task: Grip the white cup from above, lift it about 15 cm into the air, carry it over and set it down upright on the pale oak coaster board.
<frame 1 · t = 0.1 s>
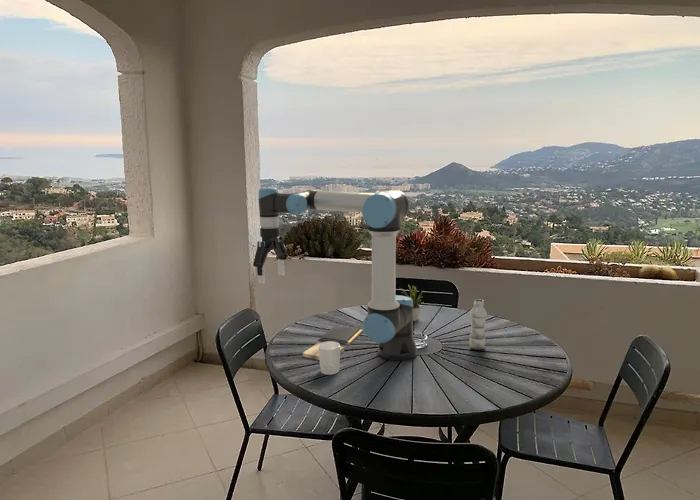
hand: (271, 279, 215), 28 cm above the table, tool pointing down, fingers open, 13 cm apart
house plant: (410, 318, 251), on the table
oak coaster board: (323, 353, 211), on the table
black book: (341, 337, 230), on the table
white cup: (329, 371, 195), on the table
plastic bottle: (477, 348, 214), on the table
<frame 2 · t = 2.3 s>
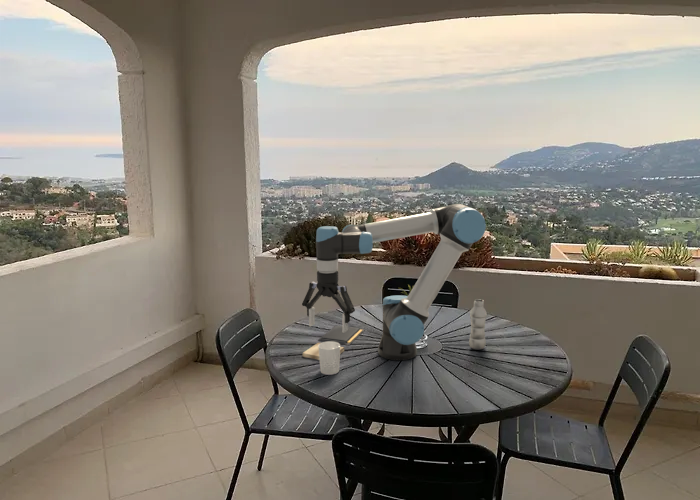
hand: (328, 328, 191), 16 cm above the table, tool pointing down, fingers open, 13 cm apart
nothing on the table moved.
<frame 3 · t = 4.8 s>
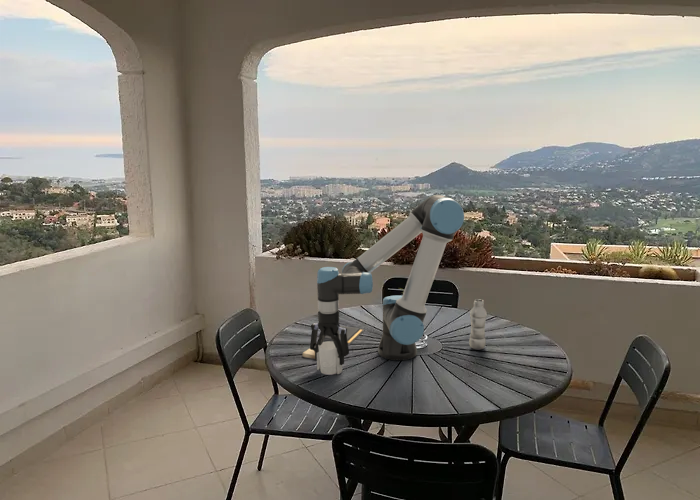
hand: (329, 370, 195), 0 cm above the table, tool pointing down, fingers closed on white cup, 8 cm apart
white cup: (329, 371, 195), on the table, touching gripper
everything else where it was.
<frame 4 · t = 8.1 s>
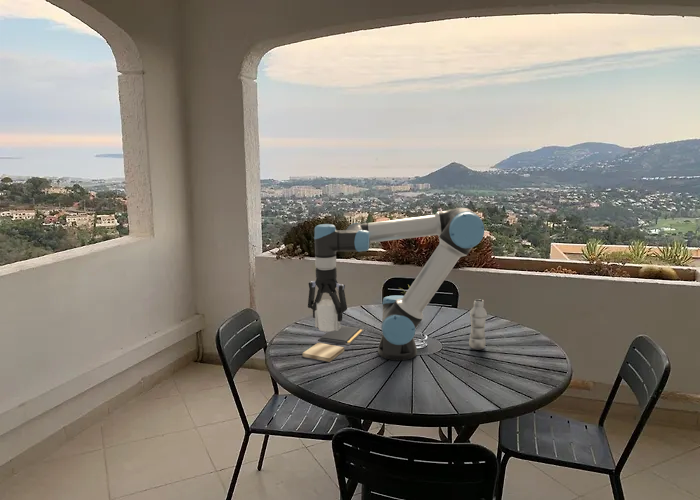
hand: (327, 327, 196), 15 cm above the table, tool pointing down, fingers closed on white cup, 7 cm apart
white cup: (327, 329, 196), point 14 cm above the table, touching gripper
everything else where it was.
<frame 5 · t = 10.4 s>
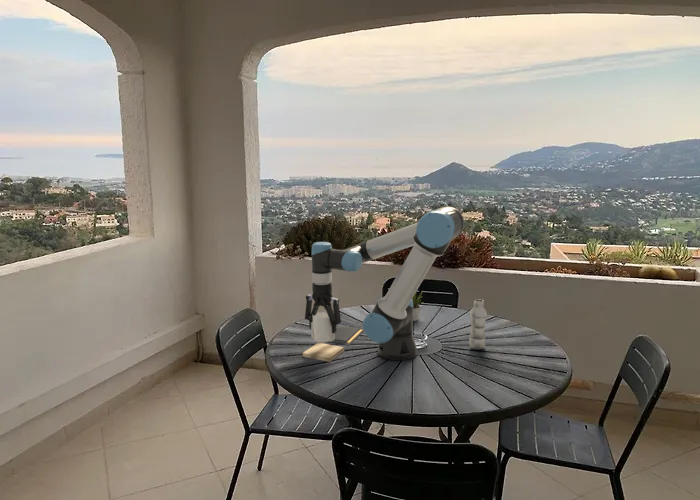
hand: (323, 338, 209), 6 cm above the table, tool pointing down, fingers closed on white cup, 7 cm apart
white cup: (323, 339, 210), point 6 cm above the table, touching gripper
everything else where it was.
when the fingers open (3 cm above the table, at t = 11.9 s): white cup drops 1 cm, resting on oak coaster board.
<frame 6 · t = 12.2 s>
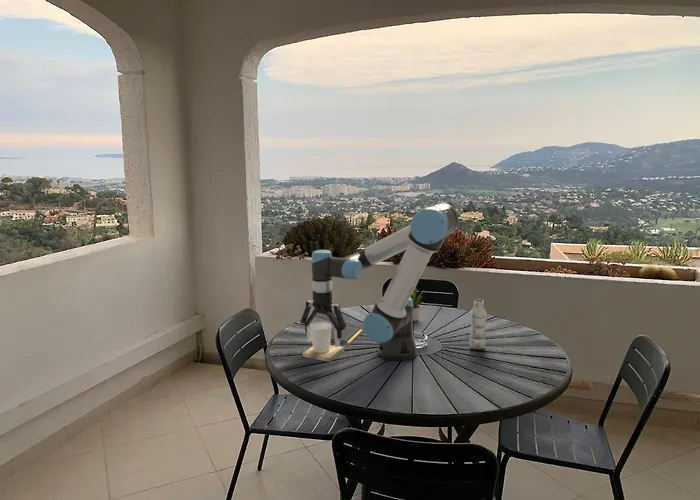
hand: (323, 343, 210), 4 cm above the table, tool pointing down, fingers open, 12 cm apart
white cup: (321, 350, 211), point 1 cm above the table, touching oak coaster board
everything else where it was.
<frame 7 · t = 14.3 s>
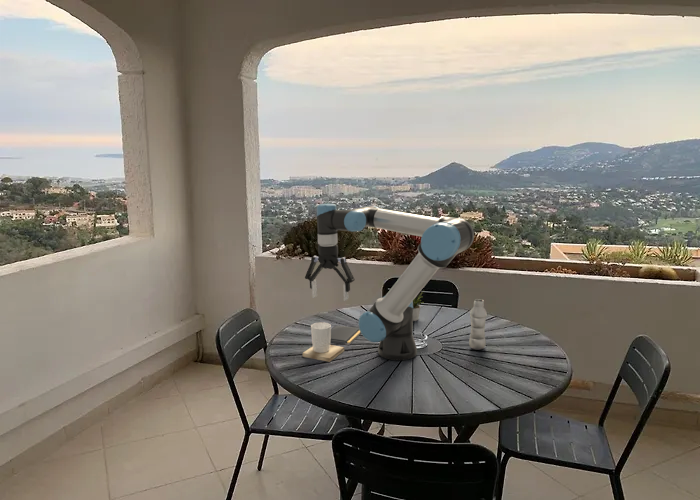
hand: (330, 298, 208), 22 cm above the table, tool pointing down, fingers open, 13 cm apart
nothing on the table moved.
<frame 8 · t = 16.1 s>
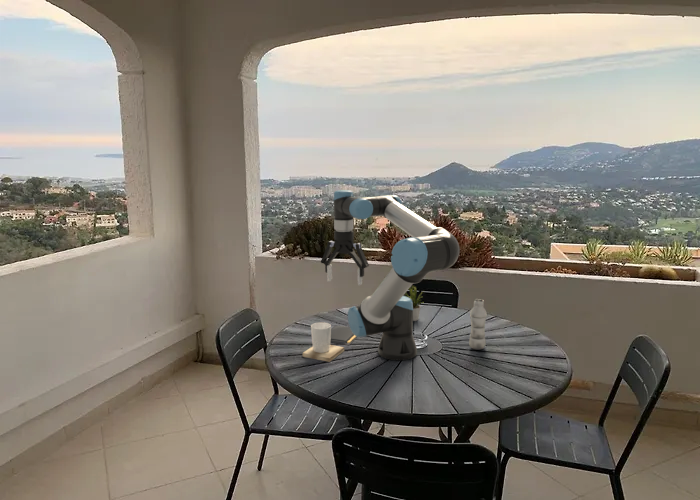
hand: (344, 282, 213), 27 cm above the table, tool pointing down, fingers open, 13 cm apart
nothing on the table moved.
at the end: white cup inside the target area on the oak coaster board (1.0 cm from its centre), point 1.3 cm above the oak coaster board's base; white cup tilted 0°; the gripper is holding nothing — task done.
